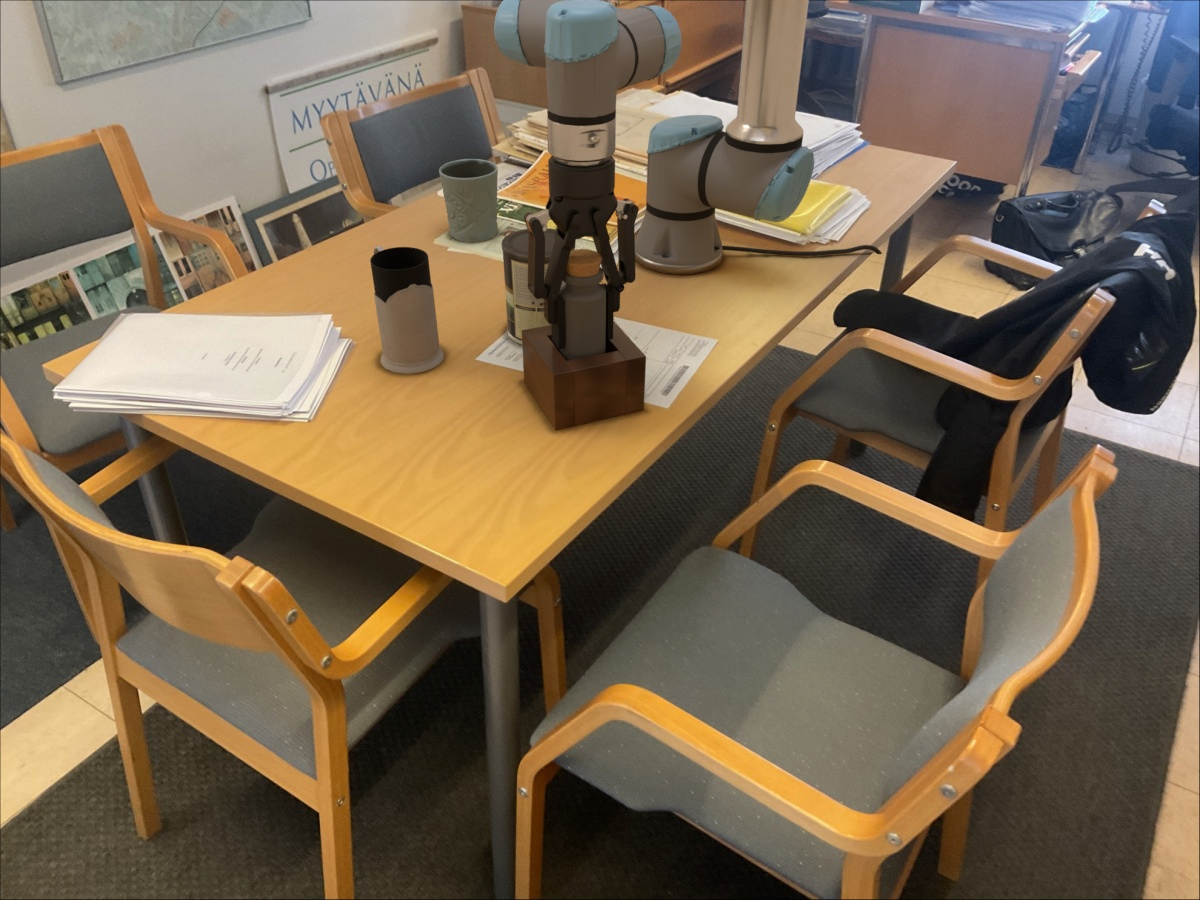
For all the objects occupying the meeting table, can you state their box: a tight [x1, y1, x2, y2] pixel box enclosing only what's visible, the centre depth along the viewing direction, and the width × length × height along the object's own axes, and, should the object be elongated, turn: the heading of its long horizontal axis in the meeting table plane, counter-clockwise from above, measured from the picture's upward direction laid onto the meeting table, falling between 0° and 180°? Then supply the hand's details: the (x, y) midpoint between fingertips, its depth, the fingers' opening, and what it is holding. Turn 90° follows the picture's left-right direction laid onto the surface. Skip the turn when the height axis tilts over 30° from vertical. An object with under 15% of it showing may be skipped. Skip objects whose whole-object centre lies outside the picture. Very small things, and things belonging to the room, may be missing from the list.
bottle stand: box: [521, 320, 647, 431], centre depth 116 cm, size 12×12×8 cm
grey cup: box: [438, 158, 499, 243], centre depth 160 cm, size 10×10×12 cm
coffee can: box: [501, 227, 577, 346], centre depth 129 cm, size 10×10×14 cm
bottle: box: [559, 248, 606, 361], centre depth 112 cm, size 6×6×15 cm
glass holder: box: [369, 245, 445, 375], centre depth 124 cm, size 9×14×15 cm, turn 32°
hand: (582, 339), depth 114 cm, fingers closed on bottle, 6 cm apart
